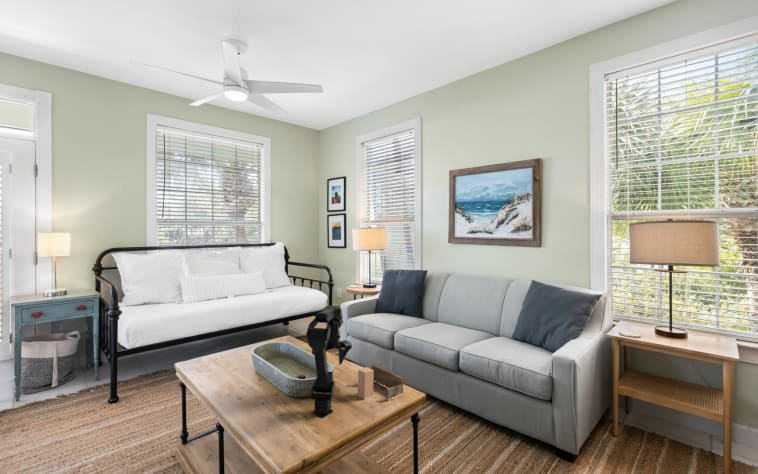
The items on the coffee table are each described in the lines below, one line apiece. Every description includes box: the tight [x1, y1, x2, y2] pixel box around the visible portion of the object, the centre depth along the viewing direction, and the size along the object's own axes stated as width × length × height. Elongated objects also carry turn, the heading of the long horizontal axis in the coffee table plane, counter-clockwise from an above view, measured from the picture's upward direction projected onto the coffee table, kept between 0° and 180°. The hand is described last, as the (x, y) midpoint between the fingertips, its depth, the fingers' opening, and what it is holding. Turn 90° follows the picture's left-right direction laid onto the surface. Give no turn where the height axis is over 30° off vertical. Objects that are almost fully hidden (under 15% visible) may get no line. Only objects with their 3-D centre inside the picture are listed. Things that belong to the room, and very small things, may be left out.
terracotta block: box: [357, 367, 374, 399], centre depth 162 cm, size 5×5×12 cm
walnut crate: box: [371, 364, 404, 400], centre depth 168 cm, size 9×21×8 cm, turn 42°
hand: (332, 366), depth 162 cm, fingers open, 9 cm apart
